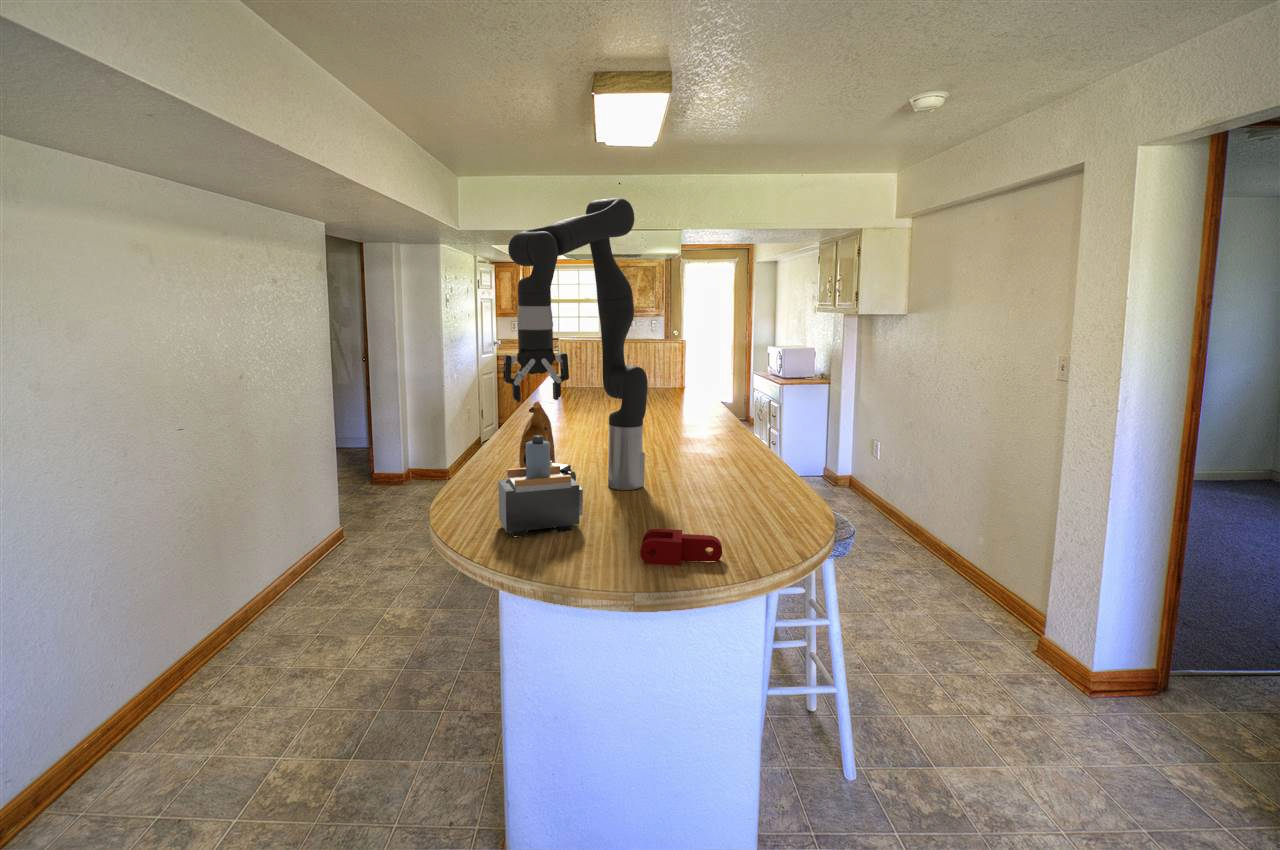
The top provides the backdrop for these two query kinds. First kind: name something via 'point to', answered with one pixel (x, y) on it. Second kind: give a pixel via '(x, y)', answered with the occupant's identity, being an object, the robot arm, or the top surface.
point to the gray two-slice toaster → (539, 501)
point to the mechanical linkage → (678, 547)
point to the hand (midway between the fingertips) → (537, 400)
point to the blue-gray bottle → (537, 457)
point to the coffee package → (536, 432)
